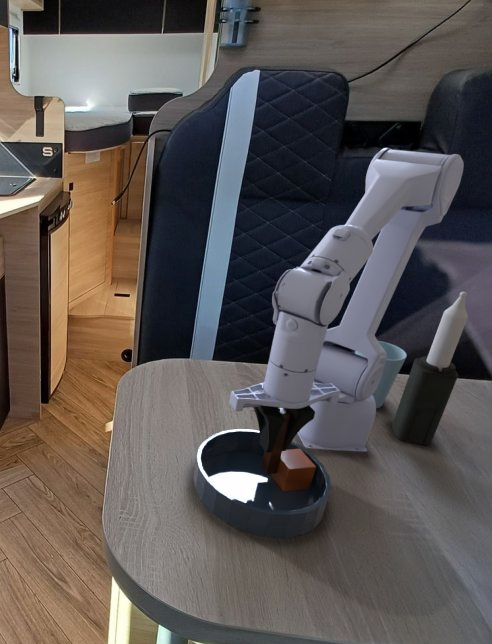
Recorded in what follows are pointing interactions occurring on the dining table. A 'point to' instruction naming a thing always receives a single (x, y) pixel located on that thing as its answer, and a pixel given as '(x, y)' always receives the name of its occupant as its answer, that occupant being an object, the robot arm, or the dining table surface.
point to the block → (294, 471)
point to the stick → (276, 447)
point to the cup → (388, 371)
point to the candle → (431, 381)
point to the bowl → (255, 487)
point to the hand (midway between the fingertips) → (272, 447)
